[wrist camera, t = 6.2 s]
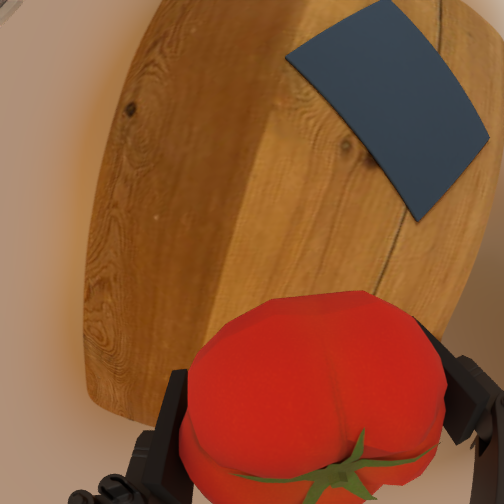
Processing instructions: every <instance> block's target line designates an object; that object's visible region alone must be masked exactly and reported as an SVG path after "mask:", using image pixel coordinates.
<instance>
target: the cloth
mask: <svg viewBox="0 0 504 504" xmlns="http://www.w3.org/2000/svg"><path fill="white" fill-rule="evenodd" d="M285 59H286V60H287V61H289V62H290V63H291V64H292V65H293V66H294V67H295V68H296V69H297V70H298V71H299V72H300V73H301V74H302V75H303V76H304V77H305V78H306V79H307V80H308V81H309V82H310V83H311V84H312V85H313V86H314V87H315V88H316V89H317V90H318V91H319V93H320V94H321V95H322V96H323V97H324V98H325V99H326V100H327V101H328V102H329V103H330V104H331V106H332V107H333V108H334V109H335V110H336V111H337V112H338V114H339V115H340V116H341V117H342V118H343V119H344V121H345V122H346V123H347V124H348V125H349V127H350V128H351V129H352V130H353V131H354V133H355V134H356V135H357V136H358V138H359V139H360V140H361V141H362V143H363V144H364V145H365V147H366V148H367V149H368V150H369V152H370V153H371V154H372V156H373V157H374V158H375V160H376V161H377V163H378V164H379V165H380V167H381V168H382V169H383V171H384V172H385V174H386V175H387V177H388V178H389V179H390V181H391V182H392V184H393V185H394V187H395V188H396V190H397V191H398V193H399V194H400V196H401V197H402V199H403V201H404V202H405V204H406V205H407V207H408V208H409V210H410V212H411V213H412V215H413V217H414V218H415V220H416V221H417V222H418V221H419V220H420V219H421V218H422V217H423V216H424V215H425V214H426V213H427V212H428V211H429V210H430V209H431V208H432V207H433V205H434V204H435V203H436V202H437V201H438V200H439V199H440V198H441V197H442V195H443V194H444V193H445V192H446V191H447V190H448V189H449V188H450V186H451V185H452V184H453V183H454V182H455V181H456V179H457V178H458V177H459V176H460V175H461V174H462V172H463V171H464V170H465V169H466V167H467V166H468V165H469V164H470V163H471V161H472V160H473V159H474V158H475V156H476V155H477V154H478V153H479V151H480V150H481V149H482V147H483V146H484V145H485V144H486V142H487V141H488V140H489V138H490V137H489V135H488V133H487V131H486V129H485V127H484V125H483V123H482V121H481V119H480V117H479V115H478V114H477V112H476V110H475V108H474V106H473V105H472V103H471V101H470V100H469V98H468V96H467V95H466V93H465V91H464V90H463V88H462V87H461V85H460V84H459V82H458V80H457V79H456V77H455V76H454V75H453V73H452V72H451V70H450V69H449V67H448V66H447V65H446V63H445V62H444V60H443V59H442V58H441V56H440V55H439V54H438V52H437V51H436V50H435V49H434V47H433V46H432V45H431V44H430V42H429V41H428V40H427V39H426V38H425V36H424V35H423V34H422V33H421V32H420V30H419V29H418V28H417V27H416V26H415V25H414V24H413V23H412V22H411V20H410V19H409V18H408V17H407V16H406V15H405V14H404V13H403V12H402V11H401V10H400V9H399V8H398V7H397V6H396V5H395V4H394V3H393V2H392V1H391V0H380V1H378V2H376V3H374V4H372V5H370V6H368V7H366V8H364V9H362V10H360V11H358V12H356V13H354V14H353V15H351V16H349V17H347V18H345V19H344V20H342V21H340V22H338V23H337V24H335V25H333V26H332V27H330V28H328V29H327V30H325V31H323V32H322V33H320V34H318V35H317V36H315V37H314V38H312V39H311V40H309V41H307V42H306V43H304V44H303V45H301V46H300V47H298V48H297V49H295V50H294V51H293V52H291V53H290V54H288V55H287V56H285Z"/></svg>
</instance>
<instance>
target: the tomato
mask: <svg viewBox="0 0 504 504" xmlns="http://www.w3.org/2000/svg"><path fill="white" fill-rule="evenodd" d="M447 385H448V384H447V380H446V377H445V373H444V369H443V365H442V362H441V358H440V356H439V354H438V353H437V351H436V350H435V348H434V347H433V345H432V343H431V342H430V340H429V339H428V337H427V336H426V335H425V333H424V332H423V330H422V329H421V327H420V326H419V325H418V323H417V322H416V320H415V319H414V318H413V317H412V316H410V315H409V314H407V313H406V312H404V311H402V310H401V309H399V308H398V307H396V306H394V305H392V304H390V303H388V302H386V301H384V300H382V299H380V298H378V297H376V296H374V295H372V294H369V293H367V292H365V291H345V292H336V293H327V294H317V295H307V296H298V297H288V298H278V299H271V300H269V301H267V302H265V303H263V304H261V305H260V306H258V307H256V308H254V309H252V310H250V311H248V312H246V313H245V314H243V315H241V316H239V317H237V318H235V319H233V320H232V321H230V322H228V323H227V324H225V325H224V326H223V327H222V328H221V329H220V330H219V332H218V333H217V334H216V335H215V336H214V337H213V338H212V339H211V340H210V341H209V342H208V343H207V344H206V345H205V346H204V347H203V348H202V349H201V350H200V351H199V352H198V353H197V355H196V357H195V359H194V361H193V363H192V365H191V367H190V369H189V371H188V407H187V410H186V413H185V416H184V418H183V421H182V423H181V426H180V428H179V456H180V458H181V460H182V463H183V465H184V467H185V469H186V471H187V473H188V475H189V477H190V479H191V480H192V482H193V483H194V484H195V485H196V487H197V488H198V489H199V490H200V491H201V493H202V494H203V495H204V496H205V497H206V498H207V499H208V500H209V501H210V502H211V503H213V504H363V503H364V502H365V501H366V500H374V499H375V500H377V498H375V497H373V496H372V495H373V494H374V493H375V492H376V491H377V490H378V489H379V488H380V487H381V486H382V485H383V484H387V485H401V486H403V485H405V484H406V483H408V482H410V481H412V480H414V479H415V478H417V477H419V476H420V475H421V474H422V473H423V472H424V470H425V469H426V468H427V466H428V465H429V463H430V462H431V460H432V459H433V458H434V456H435V454H436V451H437V447H438V443H439V440H440V436H441V431H442V427H443V422H444V417H445V412H446V408H445V402H444V395H445V392H446V389H447ZM439 444H440V443H439Z"/></svg>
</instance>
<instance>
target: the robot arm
mask: <svg viewBox="0 0 504 504" xmlns="http://www.w3.org/2000/svg"><path fill="white" fill-rule="evenodd" d="M7 1H8V0H0V8H1V7H2V6H3V5H4V4H5V3H6V2H7ZM412 317H413V316H412ZM413 318H414V317H413ZM414 319H415V318H414ZM415 320H416V319H415ZM416 322H417V323H418V325H419V326H420V327H421V329H422V330H423V332H424V333H425V335H426V336H427V337H428V339H429V340H430V342H431V343H432V345H433V347H434V348H435V350H436V351H437V353H438V354H439V356H440V358H441V362H442V365H443V369H444V373H445V377H446V380H447V384H448V385H447V389H446V392H445V395H444V402H445V408H446V412H445V417H444V422H443V426H444V428H445V429H446V431H447V432H448V434H449V435H450V437H451V438H452V440H453V441H454V443H455V444H456V445H458V444H460V443H462V442H463V441H465V440H467V439H468V438H470V436H471V434H472V433H473V431H474V430H475V431H476V432H477V436H476V438H475V439H474V441H473V443H472V444H471V447H470V449H472V448H473V447H474V445H475V462H474V474H473V483H472V491H471V498H470V504H504V391H503V390H501V388H500V387H498V385H497V384H496V383H495V382H494V381H493V380H492V379H491V378H490V377H489V376H488V375H487V374H486V373H485V372H483V370H482V369H481V368H480V367H478V365H477V364H476V363H475V362H474V361H473V360H472V359H470V358H468V357H466V356H464V355H462V356H460V357H458V358H455V357H454V356H453V355H452V354H451V353H450V352H449V351H448V350H447V349H446V348H445V347H444V346H443V345H442V344H441V343H440V342H439V341H438V340H437V339H436V338H435V337H434V336H433V335H432V334H431V333H430V332H429V331H428V330H427V329H426V328H425V327H424V326H423V325H422V324H421V323H420V322H419V321H418V320H416ZM187 407H188V371H187V369H181V370H172V373H171V376H170V379H169V383H168V386H167V389H166V393H165V396H164V399H163V403H162V406H161V410H160V413H159V417H158V420H157V424H156V427H155V430H154V431H153V430H152V431H151V430H150V431H149V430H145V431H143V432H142V433H141V434H140V436H139V437H138V438H137V441H136V444H135V447H134V450H133V453H132V457H131V459H130V463H129V466H128V469H127V473H126V476H125V477H124V476H122V475H119V474H110V475H108V476H106V477H104V478H103V479H102V480H101V481H100V483H99V485H98V492H99V493H100V494H101V495H92V494H91V493H89V492H88V491H86V490H77V491H75V492H73V493H72V494H71V495H70V497H69V499H68V504H192V496H193V487H194V483H193V482H192V480H191V479H190V477H189V475H188V473H187V471H186V469H185V467H184V465H183V463H182V460H181V458H180V456H179V428H180V426H181V423H182V421H183V418H184V416H185V413H186V410H187Z"/></svg>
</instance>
